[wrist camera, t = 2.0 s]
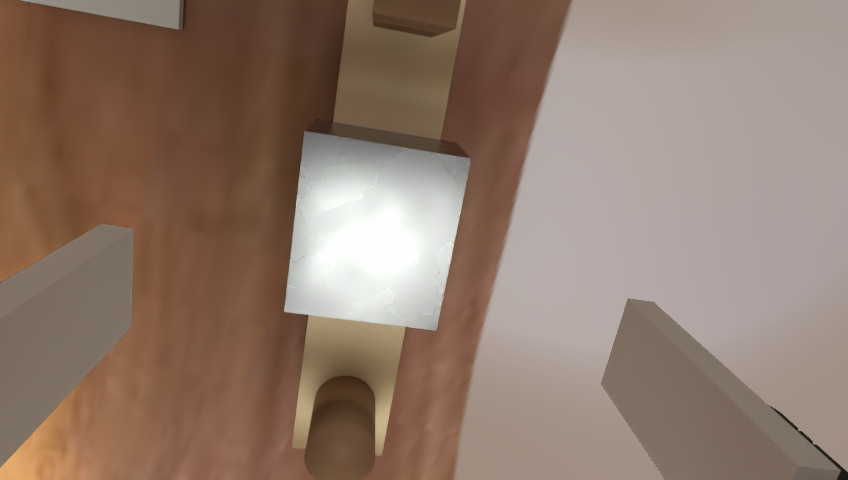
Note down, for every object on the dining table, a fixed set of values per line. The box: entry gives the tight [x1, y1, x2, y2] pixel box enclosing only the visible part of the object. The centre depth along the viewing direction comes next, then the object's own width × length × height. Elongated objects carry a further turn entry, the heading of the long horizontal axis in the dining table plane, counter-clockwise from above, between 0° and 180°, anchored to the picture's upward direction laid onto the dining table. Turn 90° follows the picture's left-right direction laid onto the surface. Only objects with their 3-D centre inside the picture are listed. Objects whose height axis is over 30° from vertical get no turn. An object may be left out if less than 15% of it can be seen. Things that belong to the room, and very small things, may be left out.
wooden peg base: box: [292, 0, 466, 480], centre depth 24 cm, size 26×5×13 cm, turn 170°
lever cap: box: [284, 119, 471, 330], centre depth 22 cm, size 7×6×4 cm
